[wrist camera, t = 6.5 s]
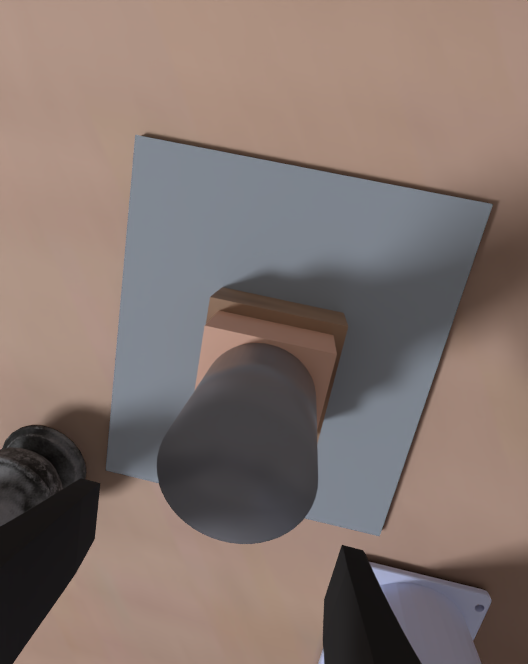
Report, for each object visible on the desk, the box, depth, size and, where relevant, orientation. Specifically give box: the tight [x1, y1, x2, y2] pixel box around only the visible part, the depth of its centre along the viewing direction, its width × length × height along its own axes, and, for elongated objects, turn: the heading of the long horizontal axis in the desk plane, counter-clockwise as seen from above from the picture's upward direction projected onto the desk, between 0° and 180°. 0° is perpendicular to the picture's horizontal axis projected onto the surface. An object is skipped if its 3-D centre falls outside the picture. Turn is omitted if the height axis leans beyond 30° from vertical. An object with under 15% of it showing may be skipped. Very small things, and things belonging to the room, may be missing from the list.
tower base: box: [206, 287, 348, 444], centre depth 19 cm, size 6×6×2 cm
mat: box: [106, 135, 493, 536], centre depth 21 cm, size 18×16×1 cm
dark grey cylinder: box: [157, 343, 318, 544], centre depth 13 cm, size 4×4×5 cm
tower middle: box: [195, 311, 337, 429], centre depth 17 cm, size 5×5×2 cm
